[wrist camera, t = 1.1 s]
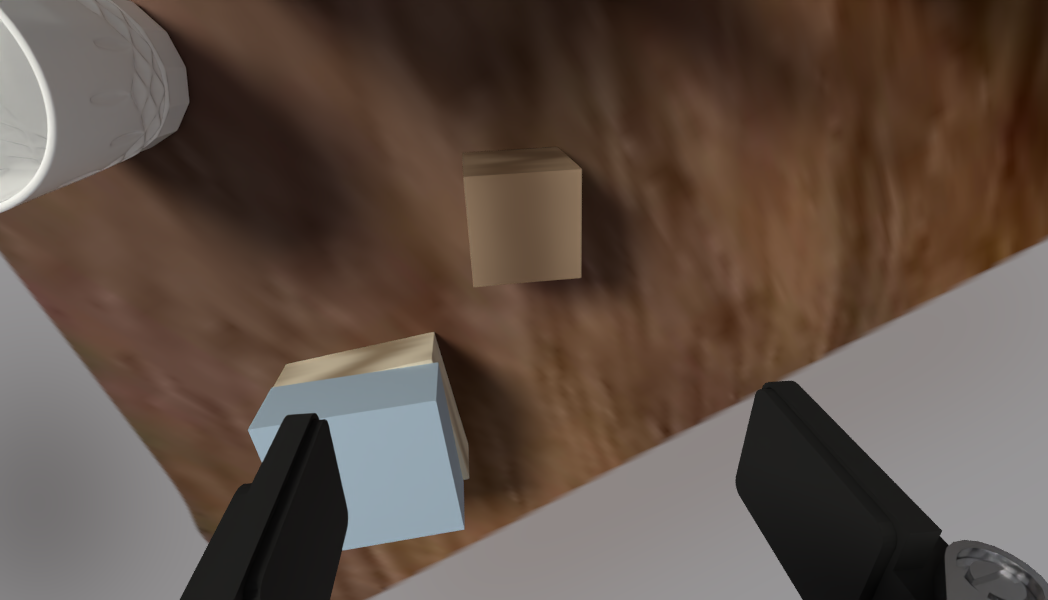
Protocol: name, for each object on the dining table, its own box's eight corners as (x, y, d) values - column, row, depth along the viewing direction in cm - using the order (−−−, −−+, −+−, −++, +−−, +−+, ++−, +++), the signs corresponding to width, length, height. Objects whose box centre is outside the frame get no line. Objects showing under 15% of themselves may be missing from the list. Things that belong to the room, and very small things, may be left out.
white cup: (169, -35, 22) (-33, -99, 13) (227, 154, 25) (100, 207, 16) (-30, -24, 21) (-386, -83, 12) (58, 168, 25) (-171, 232, 16)
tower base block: (434, 328, 31) (431, 359, 28) (468, 441, 35) (469, 478, 32) (288, 360, 31) (269, 394, 28) (338, 470, 35) (327, 510, 32)
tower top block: (438, 362, 28) (435, 400, 25) (463, 483, 32) (464, 529, 29) (271, 387, 28) (247, 429, 24) (318, 507, 32) (302, 557, 28)
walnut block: (557, 146, 27) (582, 168, 22) (558, 236, 29) (581, 277, 24) (462, 152, 27) (463, 177, 21) (470, 244, 29) (473, 287, 23)
